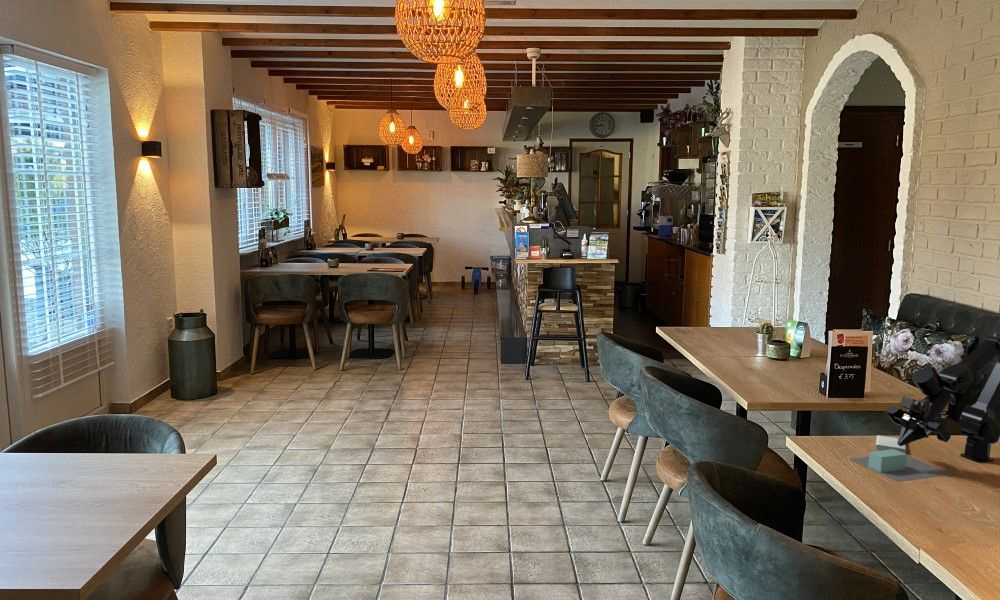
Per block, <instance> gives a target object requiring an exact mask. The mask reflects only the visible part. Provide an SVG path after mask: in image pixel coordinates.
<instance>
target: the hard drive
mask: <svg viewBox="0 0 1000 600" xmlns="http://www.w3.org/2000/svg"><path fill="white" fill-rule="evenodd" d="M875 438H876V440H875V450H876V451H882V450H891V449H895V450H897V451H900V452H902V453H905V454H907V453H906V452H907V451H906V447H907V446H906V445H907V444H906V445H903V446H899V445H898V444H897V442H898V439H899V437H893V436H892V437H891V436H886V435H878V434H877V435H876V437H875Z"/></svg>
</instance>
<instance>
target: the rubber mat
mask: <svg viewBox="0 0 1000 600" xmlns="http://www.w3.org/2000/svg"><path fill="white" fill-rule="evenodd" d="M848 460H849V461H852V462H854V463H856V464H858V465H860V466H863V467H864V468H867V469H869V470H871V471H873V472H876V473H878V474H880V475H882V476H885V477H886V478H888V479H891V480H893V481H896V482H897V483H900V482H905V481H906V482H907V481H914V480H920V479H929V478H936V477H945V476H951V475H954V474H953V473H951V472H948V471H946V470H943V469H941V468H938V467H936V466H934V465H932V464H929V463H927V462H924V461H921V460H919V459H916V458H915V457H912V456H909V455H907V457H906V467H905V469H904V470H896V471H888V472H878V471H876V470H874V469H872V468H870V467H868V463H869V456H864V457H856V458H848Z"/></svg>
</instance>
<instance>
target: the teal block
mask: <svg viewBox="0 0 1000 600" xmlns="http://www.w3.org/2000/svg"><path fill="white" fill-rule="evenodd" d="M907 456H908V454H907V453H902V452H900V451H897V450H895V449H891V450H875V451H869V454H868V457H869V463H868V467H870V468H872V469H874V470H876V471H878V472H888V471H896V470H904V469H905V467H906V457H907ZM878 472H877V473H878Z"/></svg>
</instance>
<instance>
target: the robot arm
mask: <svg viewBox="0 0 1000 600" xmlns="http://www.w3.org/2000/svg"><path fill="white" fill-rule="evenodd" d="M995 357H996V359H997V361H996V363H995V366H994V368H993V369H992V371H991V374H990V375H989V377H988V379H987V381H986V382H985V385H984V386H983V389H982V391H981V393H980V395H979V397H978V398H977V401H976V402H975V403H974V404H972V405H965V407H964V408H963V410H962V413H961V414H960V415H959V421H958V423H959V429H960V434H961V435H962V436H965V437H966V441H965V445H964V452H963V453H960V454H959V455H960V456H961V457H964V458H966V459H969V460H971V461H974V462H976V463H985V462H992V461H995V458H994V457H992V456H991V457H990V454H991V447H992V444H993V445H994V444H996V443H998V442H999V440H1000V434H999V432H998V431H997V429H996V428H995V424H996V422H997V420H996V415H995V410H996V408H997V407H998V404H999V402H1000V337H999V336H996V335H989V336H985V338H984V340H983V342H982V343H981V344H979V345H978V346H976V348H975V349H974V350H972V351H971V352H970V353H969V354H968V355H967V356H966V357H965V358H964V359H962V360H961V361H960V362H958V363H956V364H953V365H949V366H947V367H946V368H944V369H942V370H941V371H939V372H937V369H936V368H935V366H931V365H927V366H926V367H925V368H920V369H917V370H916V371H914V373H912V377H911V379H912V381H913V383H914V384H915V385H916V386H917V388H918V389H919V391H920V392H921V393H922V394H923V395H925V397H924V398H923V399H922V398H921V399H915V398H911V397H909V396H905V395H903V397H902V398H901V401H900V403H899V405H898V406H899V407H897V406H894V405H890V406H888V407H887V409H885V411H884V413H886V415H887V416H888V419H890V420H891V422H892V423H893V424H895V425H898V426H900V427H901V429H900V433H899V436H898V438H899V439H898V442H897V444H898V445H899V446H903V445H907V444H908V445H909V444H911V443H913V442H915V441H919V440H922V439H925V438H926V439H928V438H929V437H930V436H929V434H930V433H934V434H936V438H937V440H939V441H941V442H944V443H948V441H949V440H950V439H951V436H952V433H951V431H950V430H949V429H948V428H947V426H946V425H945V423H943V422H940V421H938V420H936V419H939V420H940V419H941V418H942V417H943V416H942V414H941V413H942V412H943V411H944V409H945V408H946V407H947V406H948V405H949V404H951V405H953V406H955V405H956V404H957V401H956V396H955V394H952V393H951V392H955V393H958V394H962V393H964V392H966V391H967V390H968V389H969V387H970V386H971V385H972V384H973V381H974V376H975V375H976V374H977V373H978V372H979V371H981V369H983V368H984V367H985V366H986V365H987V364H988V363H989V362H990V361H991V360H993V359H994V358H995ZM950 391H951V392H950ZM902 408H904V409H906V410H905V411H906V413H907V414H906V413H905V412H904V411H903V409H902ZM908 414H909V415H908Z"/></svg>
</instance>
